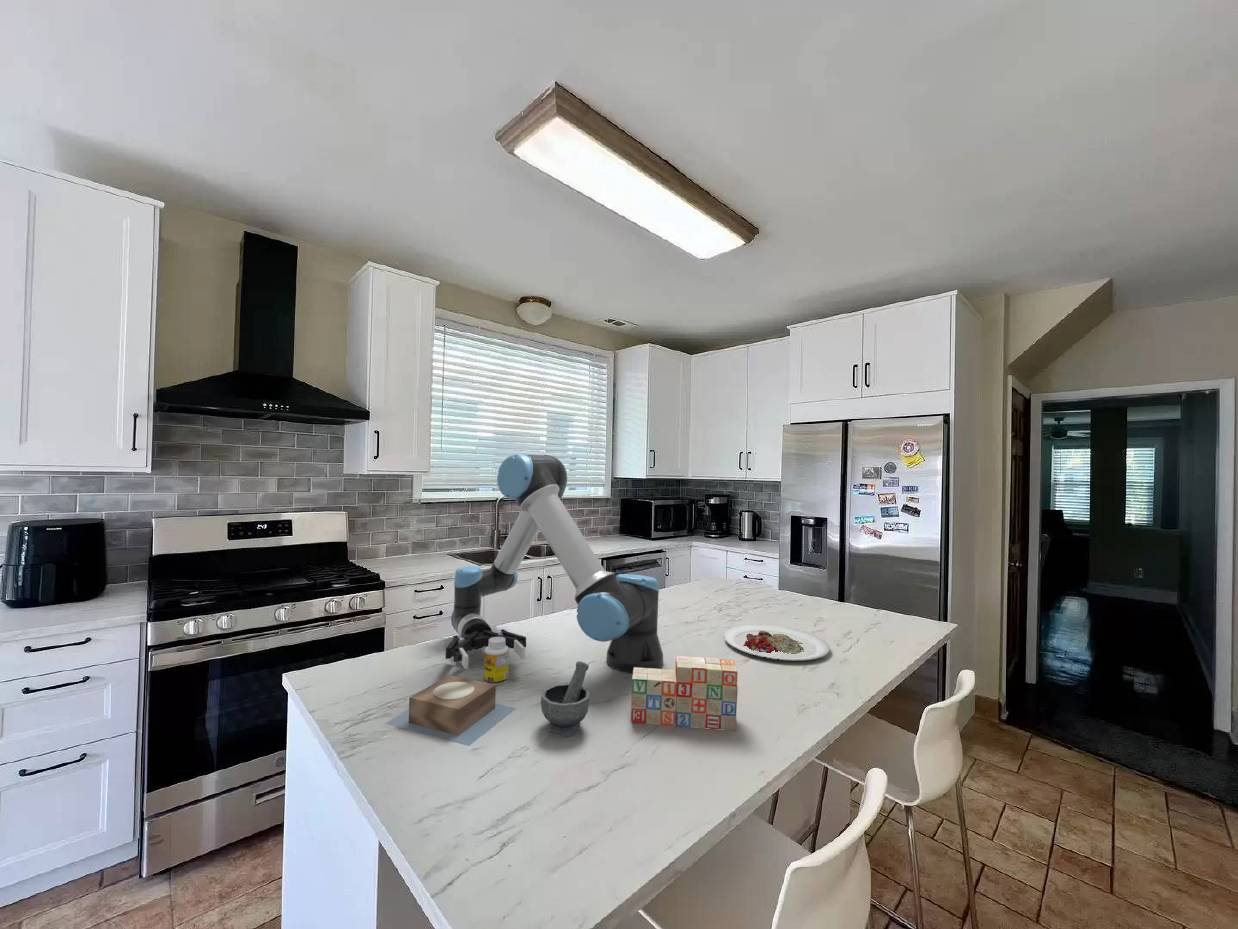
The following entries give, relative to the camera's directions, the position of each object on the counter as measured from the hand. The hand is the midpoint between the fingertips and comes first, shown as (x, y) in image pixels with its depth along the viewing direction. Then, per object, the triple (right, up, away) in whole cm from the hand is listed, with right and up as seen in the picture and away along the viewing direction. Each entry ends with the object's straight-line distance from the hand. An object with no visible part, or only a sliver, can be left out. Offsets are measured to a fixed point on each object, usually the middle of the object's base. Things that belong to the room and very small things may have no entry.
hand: (495, 658), depth 123 cm
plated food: (+76, -8, +31) cm, 83 cm away
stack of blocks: (+43, -7, -15) cm, 46 cm away
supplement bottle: (0, -6, 0) cm, 6 cm away
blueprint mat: (-5, -6, -17) cm, 19 cm away
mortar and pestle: (+19, -7, -20) cm, 28 cm away
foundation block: (-5, -5, -17) cm, 18 cm away
